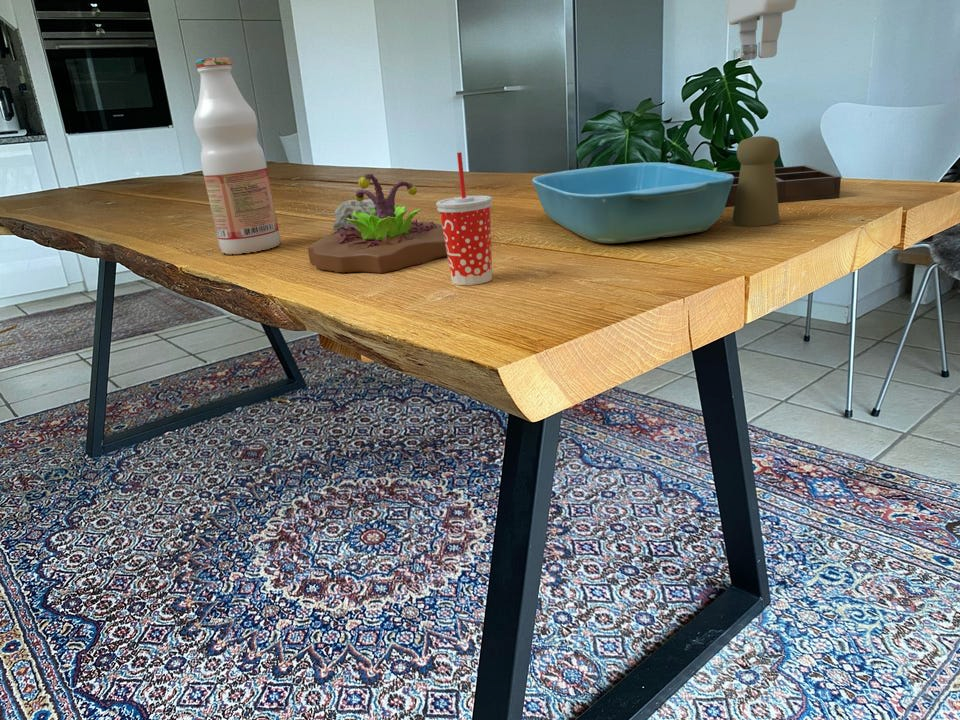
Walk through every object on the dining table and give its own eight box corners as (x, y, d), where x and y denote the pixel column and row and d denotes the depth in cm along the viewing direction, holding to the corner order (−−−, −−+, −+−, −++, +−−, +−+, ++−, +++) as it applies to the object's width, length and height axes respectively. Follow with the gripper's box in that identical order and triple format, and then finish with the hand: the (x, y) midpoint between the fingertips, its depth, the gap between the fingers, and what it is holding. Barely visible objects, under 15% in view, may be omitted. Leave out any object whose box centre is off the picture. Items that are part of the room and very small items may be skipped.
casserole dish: (522, 215, 122) (518, 171, 119) (651, 200, 124) (650, 156, 122) (586, 259, 87) (584, 198, 85) (763, 236, 90) (765, 177, 88)
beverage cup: (444, 276, 86) (430, 153, 81) (496, 270, 86) (485, 147, 82) (445, 289, 80) (430, 157, 76) (501, 283, 81) (490, 151, 76)
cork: (726, 220, 102) (728, 137, 98) (770, 216, 102) (774, 133, 98) (739, 227, 96) (741, 140, 93) (786, 223, 96) (790, 136, 92)
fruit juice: (208, 256, 114) (164, 62, 104) (241, 243, 122) (203, 62, 112) (262, 254, 111) (222, 54, 101) (292, 241, 119) (258, 56, 110)
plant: (283, 267, 100) (267, 183, 96) (383, 238, 114) (373, 164, 110) (388, 278, 88) (375, 183, 84) (486, 243, 102) (479, 161, 98)
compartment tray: (806, 183, 125) (807, 165, 124) (839, 197, 110) (841, 176, 109) (706, 191, 127) (706, 173, 126) (725, 206, 112) (725, 185, 111)
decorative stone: (322, 229, 129) (317, 200, 127) (380, 219, 133) (376, 191, 131) (342, 237, 118) (337, 206, 117) (404, 226, 123) (400, 196, 121)
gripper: (817, -90, 77) (809, 53, 81) (767, -56, 96) (763, 58, 100) (754, -82, 78) (750, 59, 82) (717, -50, 97) (715, 63, 101)
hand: (757, 59), depth 92 cm, fingers open, 8 cm apart
